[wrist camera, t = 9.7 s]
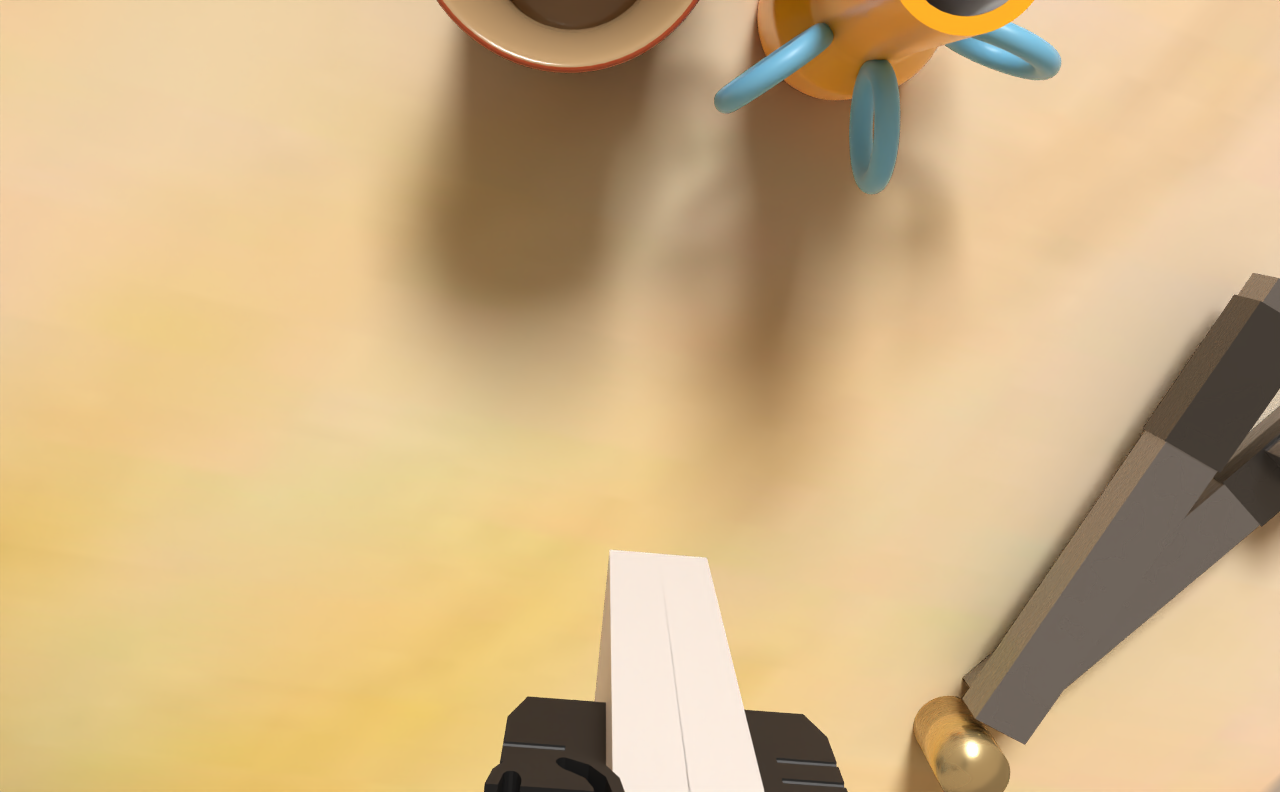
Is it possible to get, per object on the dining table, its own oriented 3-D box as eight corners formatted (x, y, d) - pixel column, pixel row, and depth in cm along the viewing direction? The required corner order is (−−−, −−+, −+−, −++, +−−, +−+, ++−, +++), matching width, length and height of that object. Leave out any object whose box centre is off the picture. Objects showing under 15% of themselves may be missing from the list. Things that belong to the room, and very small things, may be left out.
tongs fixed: (942, 766, 47) (970, 819, 44) (900, 725, 47) (926, 776, 43) (1376, 399, 44) (1447, 423, 40) (1336, 351, 43) (1404, 370, 40)
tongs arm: (1012, 724, 45) (1027, 746, 43) (959, 696, 44) (973, 718, 43) (1304, 304, 41) (1333, 311, 39) (1249, 271, 41) (1277, 277, 39)
